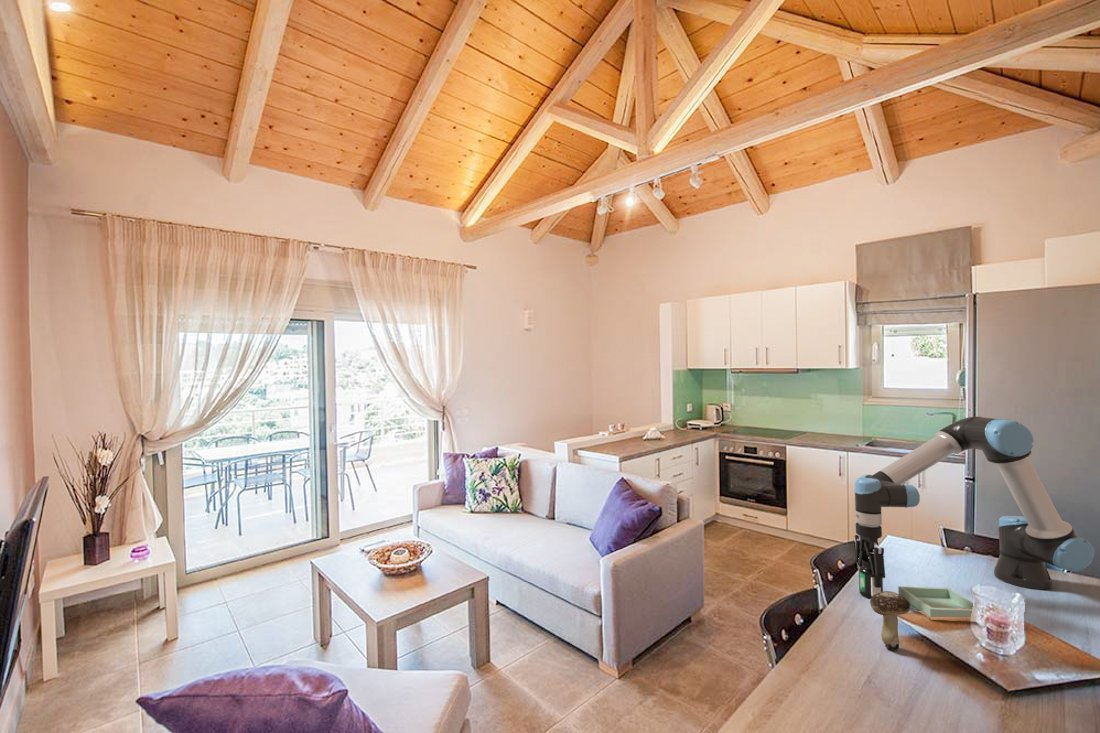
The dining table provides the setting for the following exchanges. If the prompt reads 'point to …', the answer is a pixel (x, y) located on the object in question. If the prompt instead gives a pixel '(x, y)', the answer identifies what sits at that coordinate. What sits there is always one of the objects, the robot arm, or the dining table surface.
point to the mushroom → (890, 615)
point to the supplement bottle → (866, 579)
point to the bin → (937, 601)
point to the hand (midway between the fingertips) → (870, 590)
